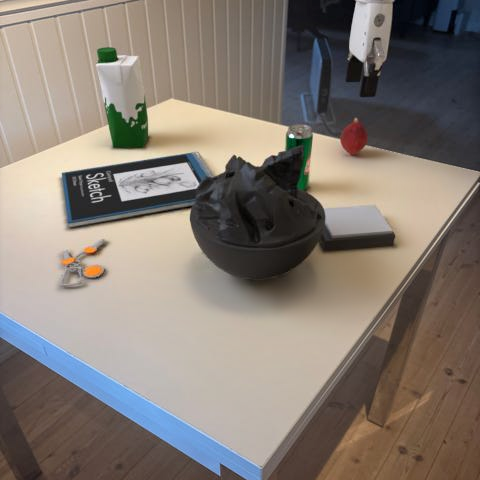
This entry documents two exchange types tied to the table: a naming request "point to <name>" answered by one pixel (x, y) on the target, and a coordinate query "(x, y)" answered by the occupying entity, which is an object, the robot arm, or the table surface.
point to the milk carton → (123, 98)
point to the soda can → (304, 137)
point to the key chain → (88, 272)
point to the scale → (355, 228)
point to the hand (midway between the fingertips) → (359, 88)
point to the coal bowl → (257, 217)
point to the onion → (354, 137)
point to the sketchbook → (132, 188)
